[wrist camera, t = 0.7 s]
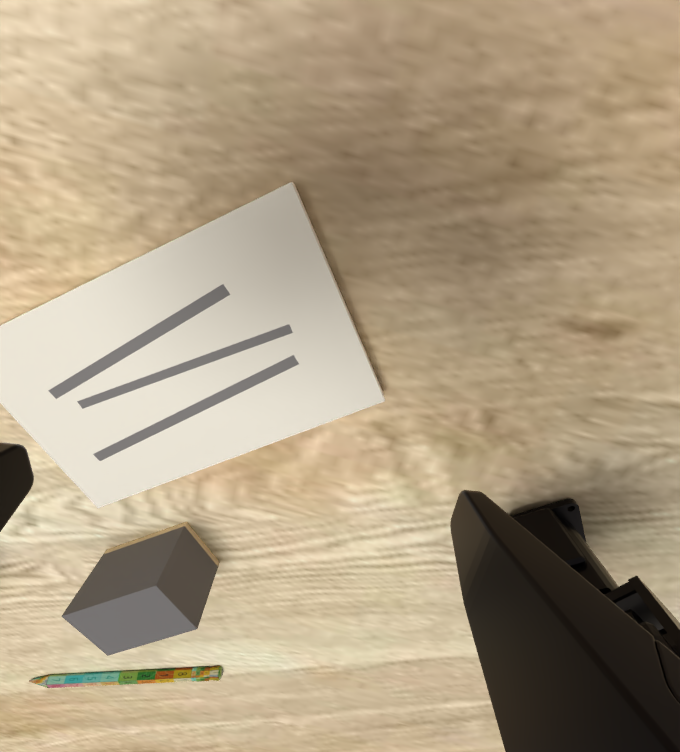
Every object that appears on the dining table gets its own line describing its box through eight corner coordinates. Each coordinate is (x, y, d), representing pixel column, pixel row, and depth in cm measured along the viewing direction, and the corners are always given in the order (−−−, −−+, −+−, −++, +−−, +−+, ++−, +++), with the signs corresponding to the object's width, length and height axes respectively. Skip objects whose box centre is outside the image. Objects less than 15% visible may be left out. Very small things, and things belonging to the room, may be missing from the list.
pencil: (36, 677, 35) (224, 668, 34) (27, 691, 34) (221, 682, 33) (30, 670, 34) (221, 660, 34) (21, 684, 33) (218, 674, 33)
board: (382, 391, 22) (385, 400, 21) (108, 495, 25) (97, 508, 24) (294, 183, 17) (291, 181, 16) (-29, 342, 20) (-50, 349, 19)
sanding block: (219, 560, 28) (197, 628, 24) (143, 585, 29) (107, 655, 25) (187, 520, 26) (155, 585, 22) (107, 548, 27) (61, 616, 23)
